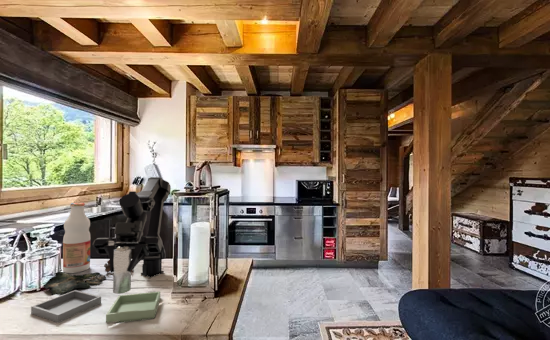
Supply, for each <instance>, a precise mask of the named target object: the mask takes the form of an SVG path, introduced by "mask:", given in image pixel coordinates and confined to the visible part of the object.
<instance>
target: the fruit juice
mask: <svg viewBox="0 0 550 340" xmlns="http://www.w3.org/2000/svg"><path fill="white" fill-rule="evenodd" d="M85 206H86V205H85V202H71V203H70V208H71V209H70V213H69V216H68V217H67V218H66V220H65V221H64V224H63V229H64V235H63V239H62V272H64V273H67V274H74V273H76V274H77V273H81V272H83V271H84V272H85V271H87V270H88V269H90V267H91V232H90V227H91V220H90V218H88V216H87V214H86V213H85V210H84V209H85Z"/></svg>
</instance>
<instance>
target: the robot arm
mask: <svg viewBox="0 0 550 340" xmlns="http://www.w3.org/2000/svg"><path fill="white" fill-rule="evenodd" d="M171 191H172V190H171V184H170V182H169V181H168V180H164V179H163V177H159V176H158V177H157V176H153V177H152V176H150V177H148V178H147V182H146V183H145V185H144V187H142V189H141V191H138V192H137V191H130V190H129V191H128V193H127V194H124V195H123V196H122V197H120V199H119V200H118V204H119V206H120V208H121V211H122V213H123V215H124V217H126V221H125V222H116V223H115V227H114V231H113V233H114V235H117V237H116V238H117V239H116V240H119V241H115V240H111V238H110V237H97V238H96V239H94V240H93V242H92V245H91V246H92V248H93V249H94V251H95V252H96V253H97V255H101V256H102V255H105V256H107V255H108V257H109V260H110V271H109V272H110V273H111V274H112V273H113V257H114V250H115V249H117V247H124V246H128V247H129V248H131V249H134V252H133V255H132V256H131V263H130V266H129V272H131V271H132V270H134V269H135V268H136V266H137V265H138V264H139V263H140V262H141V261H142V264H141V265H142V271H141V272H140V275H141V276H145V277H147V278H153V277H156V276H158V275H162V274H163V273H165V271H164V270H163V269H162V267H163V265H162V261H163V260H164V259H166V250H165V246H164V244H163V240H162V238H161V236H160V234H161V233H160V232H161V226H162V225H161V224H162V216H163V210H164V203H165V201H166V200H167V199H169V196H170V195H169V194H170V193H171ZM147 212H150V214H149V215H150V216H149V221H147V218H148V217H147V216H148V215H147ZM147 222H149V223H148V227H147V228H148V229H147V234H146V235H144V229H145V225H146V223H147ZM132 272H133V271H132ZM132 272H131V273H132Z"/></svg>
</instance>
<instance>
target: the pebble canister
mask: <svg viewBox="0 0 550 340" xmlns="http://www.w3.org/2000/svg"><path fill="white" fill-rule="evenodd" d="M131 260H132V248H129V247H128V246H124V247H117V249H115V250H114V257H113V274H112V275H113V276H112V278H113V279H112V293H113V294H117V295H118V294H119V295H122V294H125V293H128V292H130V291H131V289H132V272H129V266H130V263H131Z"/></svg>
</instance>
